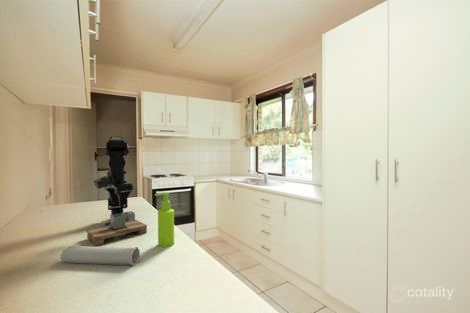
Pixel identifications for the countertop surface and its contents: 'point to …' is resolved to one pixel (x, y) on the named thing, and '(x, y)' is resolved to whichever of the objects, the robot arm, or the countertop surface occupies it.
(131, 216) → the medium pin
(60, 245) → the countertop surface
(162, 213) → the soap dispenser
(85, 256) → the tube
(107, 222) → the grey metal cube
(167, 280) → the countertop surface
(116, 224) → the long pin
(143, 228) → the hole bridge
